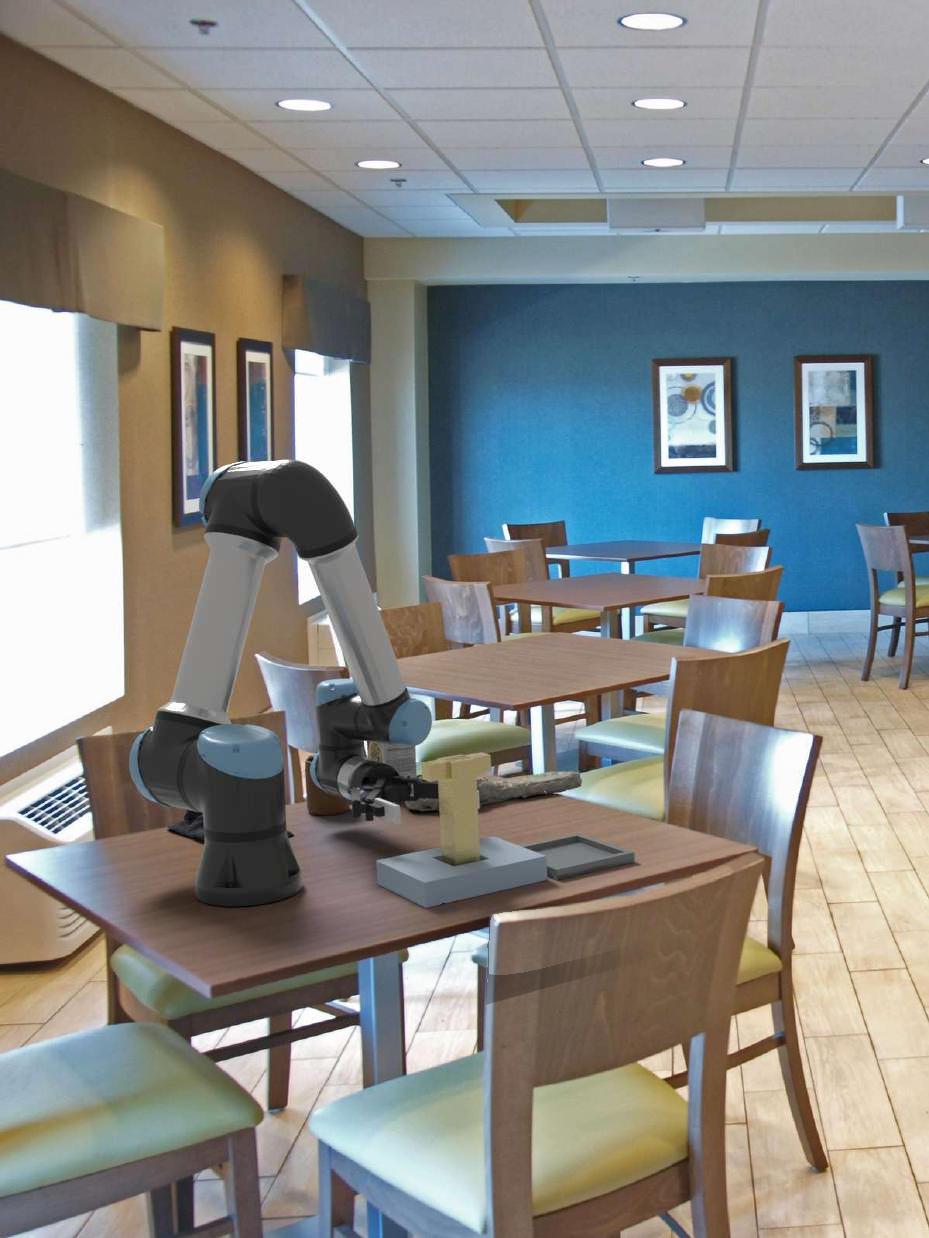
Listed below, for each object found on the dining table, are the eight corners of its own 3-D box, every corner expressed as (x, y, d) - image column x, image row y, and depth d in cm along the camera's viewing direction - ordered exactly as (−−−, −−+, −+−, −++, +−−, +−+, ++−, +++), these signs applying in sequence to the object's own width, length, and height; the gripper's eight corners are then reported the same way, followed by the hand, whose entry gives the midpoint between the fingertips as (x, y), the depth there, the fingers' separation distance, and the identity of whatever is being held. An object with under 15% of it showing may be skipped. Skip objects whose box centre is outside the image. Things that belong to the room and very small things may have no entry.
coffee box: (368, 793, 255) (363, 707, 253) (400, 788, 258) (395, 703, 256) (386, 803, 247) (381, 714, 245) (419, 798, 249) (414, 710, 248)
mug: (292, 805, 248) (289, 754, 247) (330, 798, 252) (328, 748, 251) (317, 818, 238) (313, 765, 237) (357, 811, 241) (354, 759, 240)
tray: (557, 879, 196) (556, 869, 196) (503, 858, 208) (503, 849, 207) (634, 861, 203) (634, 852, 203) (578, 842, 215) (578, 833, 215)
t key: (438, 892, 193) (432, 765, 191) (424, 885, 196) (418, 761, 194) (498, 878, 198) (493, 755, 196) (484, 872, 201) (478, 751, 199)
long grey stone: (594, 798, 250) (566, 790, 259) (594, 769, 250) (566, 763, 259) (419, 816, 235) (396, 808, 243) (419, 785, 234) (395, 778, 243)
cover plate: (425, 907, 186) (424, 882, 185) (377, 883, 198) (376, 860, 197) (547, 879, 196) (546, 855, 196) (494, 858, 208) (493, 836, 208)
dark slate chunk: (215, 857, 218) (213, 828, 217) (162, 831, 236) (160, 804, 236) (301, 839, 226) (299, 811, 226) (244, 815, 245) (242, 789, 244)
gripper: (438, 793, 227) (509, 818, 209) (300, 819, 214) (364, 847, 196) (435, 749, 226) (507, 769, 209) (298, 772, 213) (362, 796, 195)
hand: (438, 807), depth 202 cm, fingers open, 13 cm apart
